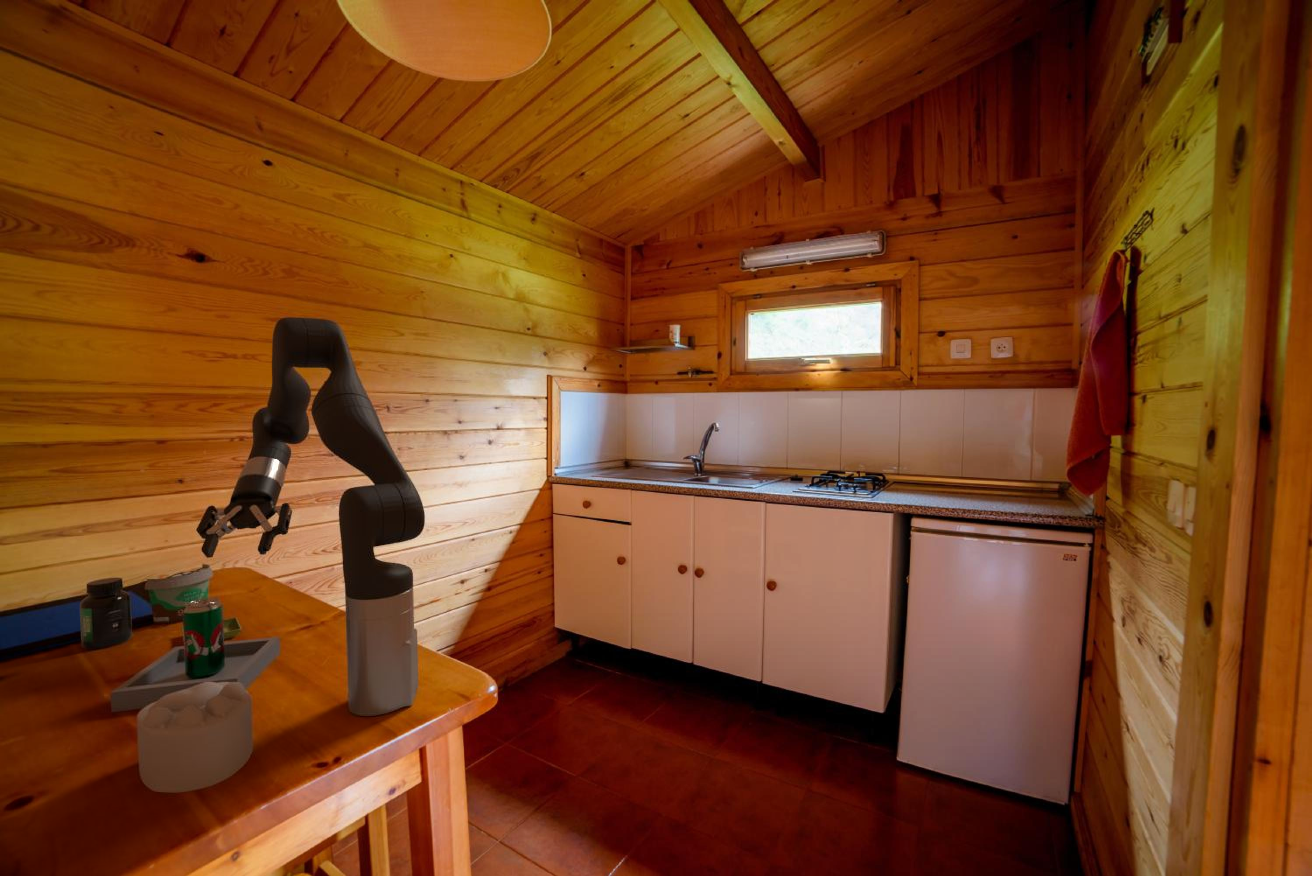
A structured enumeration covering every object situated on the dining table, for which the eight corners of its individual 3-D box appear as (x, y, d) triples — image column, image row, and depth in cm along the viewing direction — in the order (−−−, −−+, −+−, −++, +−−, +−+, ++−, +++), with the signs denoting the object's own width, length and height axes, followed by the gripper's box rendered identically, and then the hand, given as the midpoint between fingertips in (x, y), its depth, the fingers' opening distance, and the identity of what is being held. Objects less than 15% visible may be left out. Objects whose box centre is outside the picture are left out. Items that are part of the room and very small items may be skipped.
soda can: (220, 662, 93) (217, 594, 93) (228, 671, 90) (225, 601, 89) (182, 673, 89) (179, 602, 89) (189, 683, 86) (186, 609, 86)
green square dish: (237, 626, 113) (236, 616, 113) (242, 638, 106) (242, 628, 106) (181, 638, 107) (181, 627, 107) (183, 652, 101) (183, 641, 100)
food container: (170, 629, 110) (167, 581, 109) (146, 627, 111) (144, 579, 111) (229, 608, 122) (227, 564, 122) (206, 606, 123) (205, 563, 123)
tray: (280, 652, 99) (279, 636, 99) (237, 697, 84) (237, 678, 84) (176, 663, 95) (175, 646, 95) (111, 712, 80) (110, 692, 80)
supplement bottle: (84, 653, 99) (81, 589, 99) (79, 644, 103) (75, 582, 103) (135, 641, 105) (132, 579, 104) (128, 632, 109) (125, 573, 108)
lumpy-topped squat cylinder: (231, 726, 76) (229, 666, 76) (269, 759, 69) (267, 693, 69) (130, 766, 68) (127, 698, 67) (162, 809, 60) (158, 733, 60)
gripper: (211, 473, 106) (179, 545, 95) (294, 471, 109) (272, 540, 99) (226, 496, 111) (197, 567, 101) (304, 493, 115) (285, 561, 104)
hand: (234, 553), depth 100 cm, fingers open, 8 cm apart
